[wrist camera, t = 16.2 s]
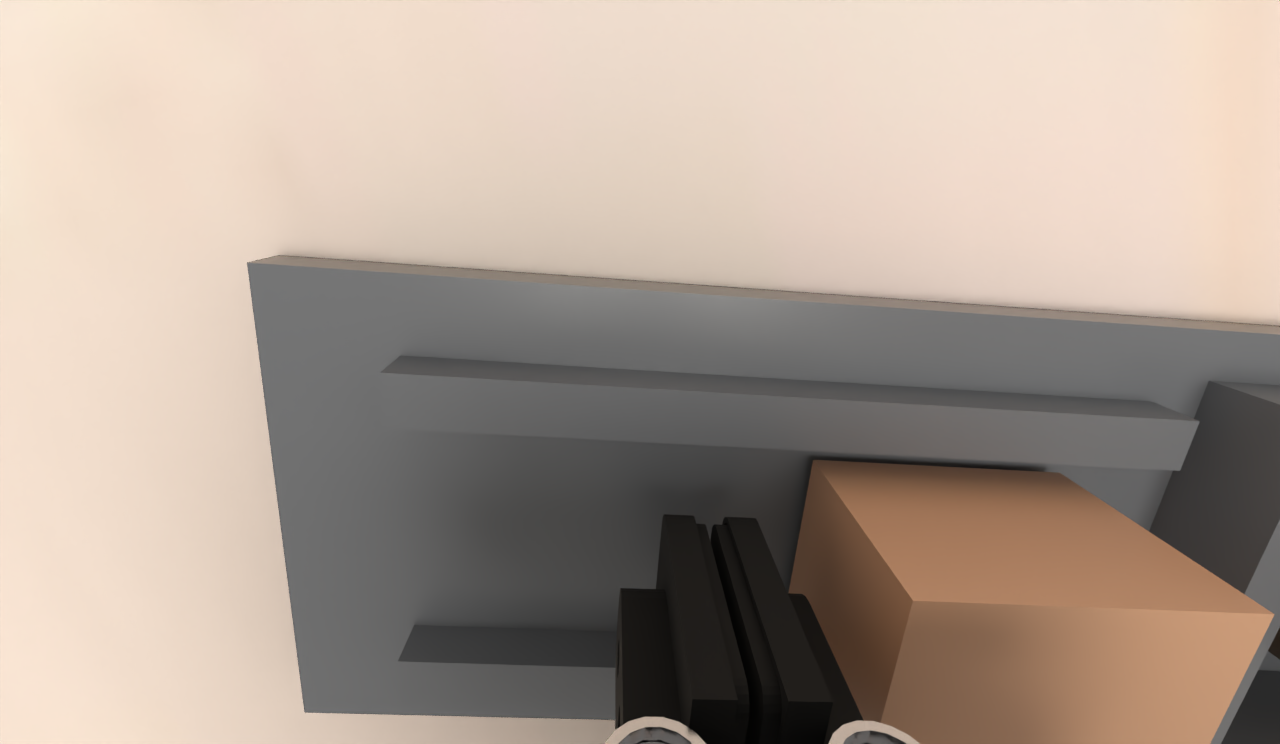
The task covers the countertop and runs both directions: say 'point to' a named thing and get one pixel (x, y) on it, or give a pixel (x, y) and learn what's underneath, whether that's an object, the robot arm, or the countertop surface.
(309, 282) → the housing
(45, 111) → the countertop surface
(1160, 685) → the cardboard brown cuboid
